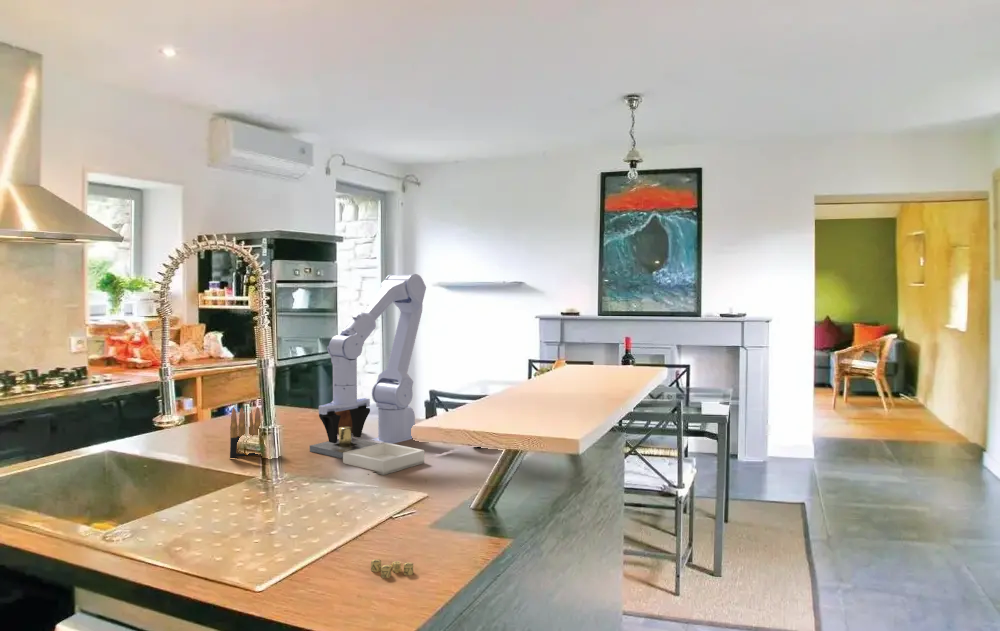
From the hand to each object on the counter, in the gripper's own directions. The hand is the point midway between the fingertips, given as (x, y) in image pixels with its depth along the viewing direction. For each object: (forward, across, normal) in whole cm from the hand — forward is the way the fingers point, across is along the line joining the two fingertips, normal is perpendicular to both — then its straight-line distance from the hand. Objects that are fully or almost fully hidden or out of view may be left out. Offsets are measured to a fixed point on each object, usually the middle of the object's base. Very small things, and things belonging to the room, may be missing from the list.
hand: (345, 439), depth 174 cm
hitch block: (+3, 0, 0) cm, 3 cm away
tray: (+3, +2, +16) cm, 16 cm away
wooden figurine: (+3, -14, -16) cm, 22 cm away
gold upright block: (+3, 0, 0) cm, 3 cm away
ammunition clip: (+3, +16, -14) cm, 22 cm away
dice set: (+4, +44, +60) cm, 74 cm away
